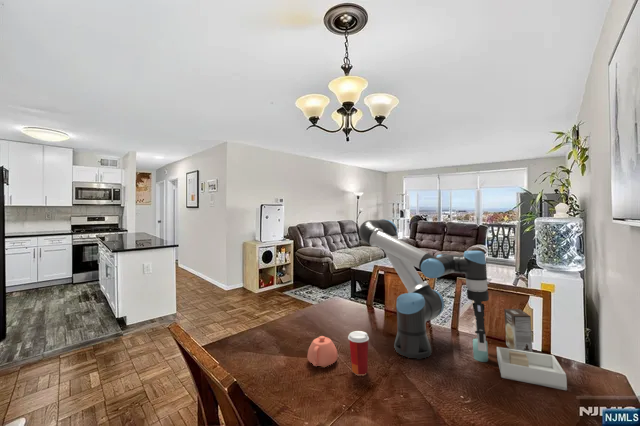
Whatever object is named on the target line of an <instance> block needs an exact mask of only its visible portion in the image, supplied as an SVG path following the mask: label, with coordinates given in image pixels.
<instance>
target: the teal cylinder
mask: <svg viewBox="0 0 640 426" xmlns="http://www.w3.org/2000/svg"><path fill="white" fill-rule="evenodd" d="M486 350H487V352H485V351H478V341H477V337H476V338H473V339H472V351H473V352H472V354H473V359H474V360H475V361H478V362H481V363H487V362H489V349H488V341H487V340H486Z"/></svg>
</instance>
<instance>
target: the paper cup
mask: <svg viewBox="0 0 640 426" xmlns="http://www.w3.org/2000/svg"><path fill="white" fill-rule="evenodd" d="M347 339H348V342H349V352H350V362H351V371H353V372H354V373H356V374H365V373H367V374H368V371H369V370H368V369H369V368H368V366H369V361H368V360H369V359H368V358H369V357H368V356H369V340H370V337H369V334H368V333H367V332H365V331H361V330H355V331H352V332H351V331H350V333H349V334H348V337H347ZM353 372H352V373H353Z"/></svg>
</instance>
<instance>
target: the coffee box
mask: <svg viewBox="0 0 640 426" xmlns="http://www.w3.org/2000/svg"><path fill="white" fill-rule="evenodd" d="M503 312H504V325H505V326H504V327H505V328H504V329H505V344H506V346H507V348H508V349H514V350H521V351H527V352H533V338H532V336H533V335H532V317H531V315H529V314H528V313H526V312H525V311H524V310H522V309H521V308H504V311H503Z"/></svg>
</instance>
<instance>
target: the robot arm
mask: <svg viewBox="0 0 640 426" xmlns="http://www.w3.org/2000/svg"><path fill="white" fill-rule="evenodd" d="M358 229H359V230H358V234H359V237H360V239H361V240H362V241H363V242H365V244H367V245H369V246H371V247H373V248H374V247H378V249H380V250H383V252H384V254H385V256H386V257H387V258H388V260H389V262H390V263H391V265H392V267H393V269H394V271H395V272H396V273H397V275H398V277H399V278H400V280H401V282H402V284H403V285H404V287H405V289H406V290H407V293H402V294H400V295H398V296H397V298H396V304H395V305H396V306H395V307H396V320H397V321H396V323H397V333H396V336H395V340H394V345H393V346H394V347H393V348H395V350H396V352H398V353H399V354H401V355H403V356H406V357H409V358H417V359H416V360H422V359H421V358H425V359H427V358H426V357H428V358H429V356H430V355H431V356H432V354H431V353H432V346H431V343H430V341H429V338H428V335H427V326H426V323H427V322H428V321H430V320H433V319H435V318H437V317H439V316H440V315H441V314H442V313H443V312H444V310H445V301H444V298H443V295H442V294H441V293H440V292H438V291H437V290H434V289H432V287H431V285H430V284H429V283H427V282H424V281H423V279H422V277H421V276H420V274H419V272H418V271H417V269H419V270H421V273H422V274H423V276H424V277H426V278H428V279H439V278H440V277H443V276H445V275H449V274H452V273H453V274H454V273H455V274H465V286H466V287H465V288H466V298H467V299H468V300H469V301H471V302H472V301H474V302H472V309H473V314H474V317H475V330H474V334H476V338H477V341H478V351H485V352H487V350H486V341H487V338H486V329H485V318H484V317H485V303H482V302H487V301H489V299H490V296H489V291H488V285H490V281H488V277H487V276H488V275H487V260H486V254H485V252H484V251H482V250H465V251H464V252H463V255H462V254H461V255H459V254H458V255H457V254H447V253H444V254H437V255H436V256H434V255H432V254H430V253H429V252H426V251H424V250H423V249H420V248H418V247H415V246H413V245H411V244H409V243H407V242H405V241H403V240H401V239H399V236H398V228H397V225H396V224H395V223H394V222H393V221H392V220H389V219H385V218H384V219H368V220H365V221H363V223H361V225H360V226H359V228H358ZM416 268H417V269H416ZM395 350H394V351H395ZM396 352H395V353H396ZM399 354H398V355H399ZM403 356H402V357H403ZM431 356H430V357H431ZM409 358H408V359H409Z"/></svg>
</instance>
